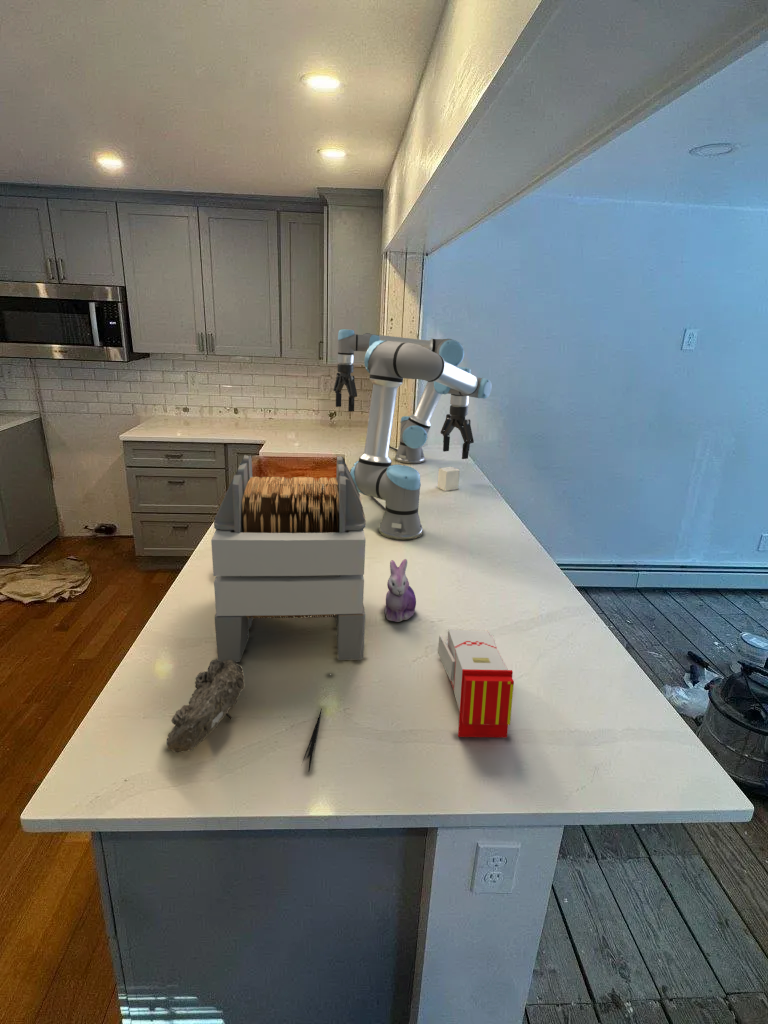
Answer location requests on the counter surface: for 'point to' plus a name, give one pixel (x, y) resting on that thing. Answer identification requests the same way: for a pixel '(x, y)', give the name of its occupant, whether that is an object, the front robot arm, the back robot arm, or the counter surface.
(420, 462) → the back robot arm
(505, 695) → the toy
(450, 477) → the block
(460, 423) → the front robot arm
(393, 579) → the figurine
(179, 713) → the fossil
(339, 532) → the record storage crate
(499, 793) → the counter surface
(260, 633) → the counter surface
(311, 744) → the feather
